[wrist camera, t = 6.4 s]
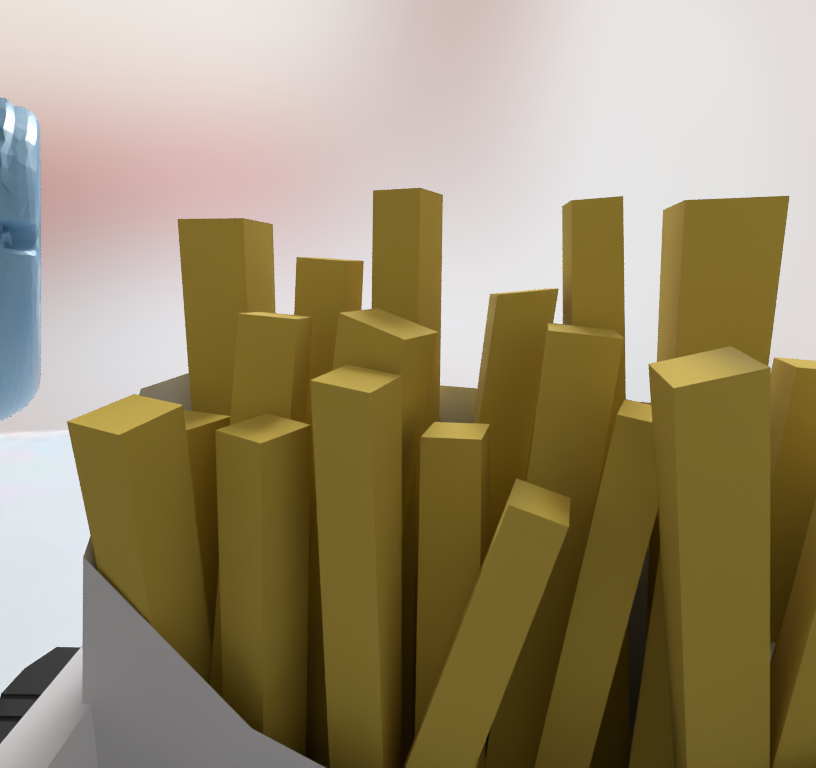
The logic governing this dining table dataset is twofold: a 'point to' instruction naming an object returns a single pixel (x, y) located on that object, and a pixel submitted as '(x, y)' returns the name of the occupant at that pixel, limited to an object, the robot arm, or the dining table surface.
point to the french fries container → (459, 515)
